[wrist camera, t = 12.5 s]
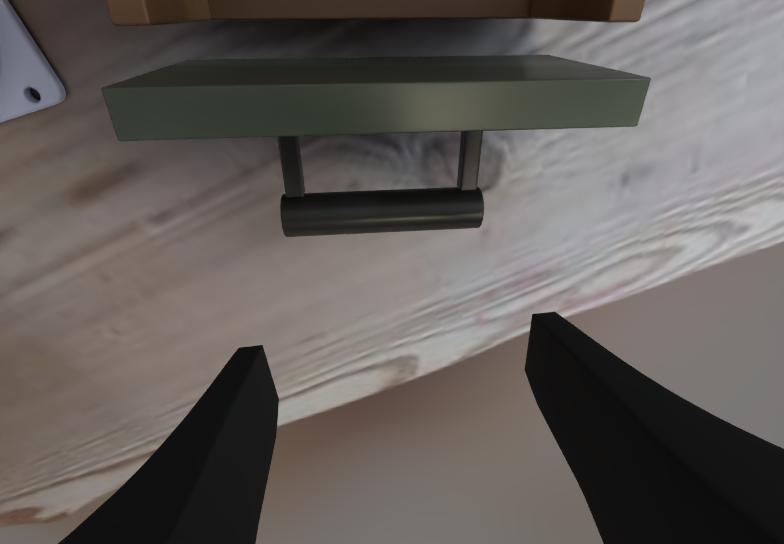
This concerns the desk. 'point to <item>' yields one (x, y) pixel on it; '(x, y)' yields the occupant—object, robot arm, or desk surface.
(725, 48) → the desk surface
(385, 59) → the drawer
